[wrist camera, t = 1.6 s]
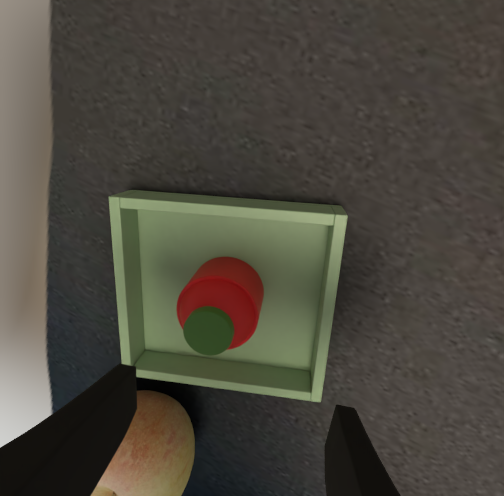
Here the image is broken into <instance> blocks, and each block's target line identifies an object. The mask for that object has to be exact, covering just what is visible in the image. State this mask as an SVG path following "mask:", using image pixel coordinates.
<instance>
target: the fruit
mask: <svg viewBox="0 0 504 496" xmlns="http://www.w3.org/2000/svg"><path fill="white" fill-rule="evenodd" d="M194 454H195V438H194V431H193V427H192V423H191V420H190V418H189V416H188V414H187V412H186V411H185V409H184V408H183V407H182V405H181V404H180V403H179V402H178V401H176V400H175V399H173V398H172V397H170V396H168V395H166V394H163V393H160V392H156V391H149V390H141V391H137V410H136V412H135V415H134V417H133V419H132V422H131V424H130V426H129V429H128V431H127V433H126V435H125V437H124V439H123V441H122V443H121V444H120V446H119V448H118V450H117V451H116V453H115V455H114V457H113V458H112V460H111V462H110V464H109V465H108V467H107V469H106V470H105V472H104V474H103V476H102V477H101V479H100V481H99V482H98V484H97V486H96V488H95V489H94V491H93V493H92V495H91V496H181V495H182V493H183V491H184V489H185V487H186V484H187V482H188V480H189V477H190V473H191V470H192V466H193V461H194Z"/></svg>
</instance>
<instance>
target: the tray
mask: <svg viewBox="0 0 504 496" xmlns="http://www.w3.org/2000/svg"><path fill="white" fill-rule="evenodd" d="M109 208H110V221H111V233H112V246H113V258H114V271H115V283H116V296H117V308H118V321H119V333H120V346H121V358H122V364H125V365H130V366H136V377H141V378H148V379H155V380H162V381H170V382H177V383H184V384H191V385H199V386H206V387H213V388H220V389H228V390H235V391H242V392H249V393H256V394H264V395H271V396H278V397H285V398H293V399H300V400H307V401H310V400H311V401H313V402H321V397H322V390H323V383H324V376H325V370H326V363H327V356H328V349H329V342H330V335H331V328H332V321H333V314H334V307H335V300H336V293H337V287H338V280H339V273H340V266H341V259H342V252H343V245H344V238H345V231H346V224H347V217H348V215H347V214H346V212H345V211H344V209H343V208H342V206H338V205H325V204H312V203H299V202H286V201H273V200H259V199H246V198H233V197H220V196H207V195H194V194H181V193H167V192H154V191H141V190H129V191H125V192H122V193H119V194H115V195H112V196H109ZM217 257H234V258H237V259H240V260H242V261H244V262H246V263H247V264H249V265H250V266H251V267H252V268H253V269H254V270H255V271H256V272H257V273H258V275H259V276H260V278H261V281H262V284H263V288H264V297H263V302H262V307H261V311H260V316H259V320H258V324H257V328H256V330H255V332H254V334H253V335H252V337H251V338H250V339H249V340H248V341H247V342H245V343H244V344H242V345H241V346H239V347H236V348H233V349H229V350H226V351H224V352H223V353H221V354H218V355H212V356H209V355H203V354H200V353H198V352H196V351H194V350H193V349H192V348H191V347H190V346H189V345H188V344H187V342H186V340H185V338H184V334H183V329H182V327H181V325H180V323H179V321H178V317H177V310H176V308H177V301H178V297H179V295H180V293H181V291H182V290H183V289H184V287H185V286H186V285H187V283H188V282H189V281H190V279H191V278H192V277H193V276H194V274H195V273H196V272H197V270H198V269H199V268H200V267H201V266H202V265H203V264H204V263H205V262H207V261H209V260H211V259H213V258H217Z"/></svg>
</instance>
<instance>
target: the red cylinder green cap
mask: <svg viewBox="0 0 504 496" xmlns="http://www.w3.org/2000/svg"><path fill="white" fill-rule="evenodd" d="M263 297H264V288H263V284H262V281H261V278H260V276H259V275H258V273H257V272H256V271H255V270H254V269H253V268H252V267H251V266H250V265H249V264H247V263H246V262H244V261H242V260H240V259H237V258H234V257H217V258H213V259H211V260H209V261H207V262H205V263H204V264H203V265H202V266H201V267H200V268H199V269H198V270H197V272H196V273H195V274H194V276H193V277H192V278H191V279H190V281H189V282H188V283H187V285H186V286H185V287H184V289H183V290H182V291H181V293H180V295H179V297H178V301H177V308H176V310H177V317H178V321H179V323H180V325H181V327H182V329H183V334H184V338H185V340H186V342H187V344H188V345H189V346H190V347H191V348H192V349H193V350H194V351H196V352H198V353H200V354H203V355H209V356H212V355H218V354H221V353H223V352H224V351H226V350H229V349H233V348H236V347H239V346H241V345H242V344H244V343H245V342H247V341H248V340H249V339H250V338H251V337H252V335H253V334H254V332H255V330H256V328H257V324H258V320H259V316H260V311H261V307H262V302H263Z"/></svg>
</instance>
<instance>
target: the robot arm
mask: <svg viewBox="0 0 504 496" xmlns="http://www.w3.org/2000/svg"><path fill="white" fill-rule="evenodd" d="M136 410H137V382H136V366H130V365H125V364H119V365H117V366H116V367H115V368H113V369H112V370H111V371H109V372H108V373H107V374H106V375H104V376H103V377H102V378H101V379H99V380H98V381H97V382H95V383H94V384H93V385H92V386H90V387H89V388H88V389H86V390H85V391H84V392H82V393H81V394H80V395H78V396H77V397H76V398H74V399H73V400H72V401H70V402H69V403H68V404H66V405H65V406H64V407H62V408H61V409H59V410H58V411H57V412H55V413H54V414H52V415H51V416H49V417H48V418H46V419H45V420H43V421H42V422H41V423H39V424H38V425H36V426H35V427H33V428H32V429H30V430H28V431H27V432H25V433H24V434H23V435H21V436H19V437H17V438H16V439H14V440H12V441H11V442H9V443H7V444H6V445H4V446H2V447H1V448H0V496H91V495H92V493H93V491H94V489H95V488H96V486H97V484H98V482H99V481H100V479H101V477H102V476H103V474H104V472H105V470H106V469H107V467H108V465H109V464H110V462H111V460H112V458H113V457H114V455H115V453H116V451H117V450H118V448H119V446H120V444H121V443H122V441H123V439H124V437H125V435H126V433H127V431H128V429H129V426H130V424H131V422H132V419H133V417H134V415H135V412H136ZM325 484H326V493H327V496H400V494H399V492H398V491H397V489H396V487H395V486H394V484H393V482H392V480H391V479H390V477H389V475H388V473H387V471H386V470H385V468H384V466H383V464H382V462H381V460H380V459H379V457H378V455H377V453H376V451H375V449H374V447H373V445H372V443H371V441H370V439H369V437H368V435H367V433H366V431H365V429H364V427H363V425H362V422H361V420H360V418H359V416H358V414H357V411H356V410H355V409H354V408H351V407H346V406H341V405H336V407H335V411H334V414H333V418H332V421H331V425H330V429H329V432H328V436H327V440H326V443H325Z"/></svg>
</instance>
